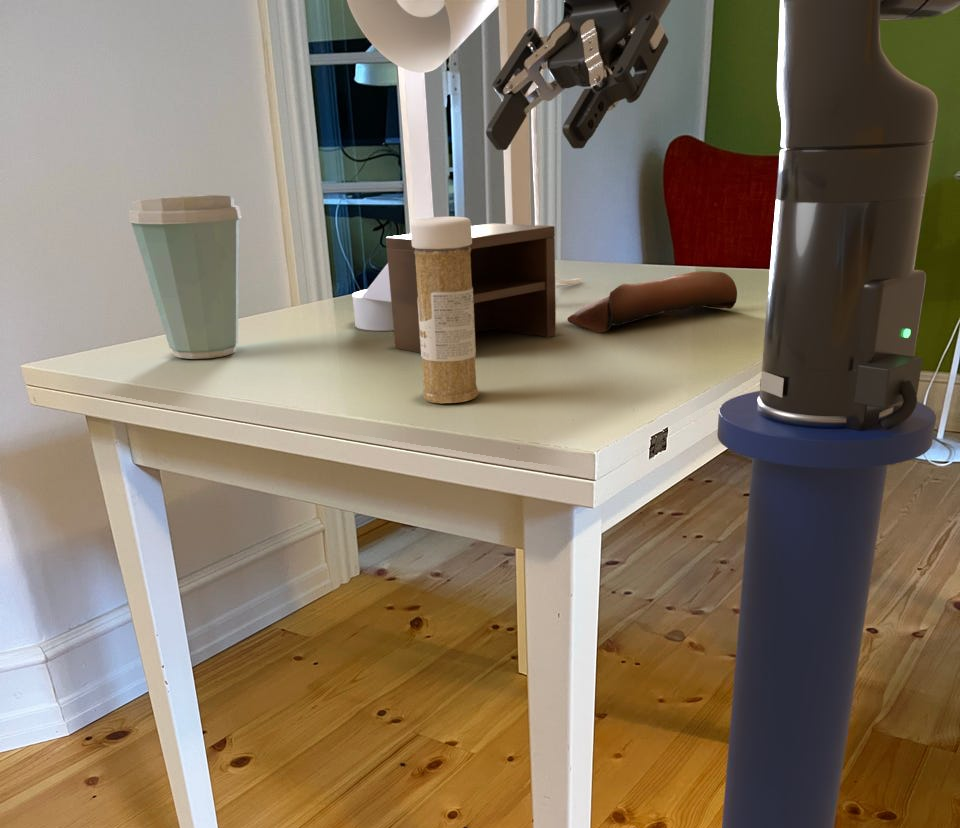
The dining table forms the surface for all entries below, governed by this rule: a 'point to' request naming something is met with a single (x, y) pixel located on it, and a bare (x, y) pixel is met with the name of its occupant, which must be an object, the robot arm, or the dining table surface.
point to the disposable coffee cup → (192, 269)
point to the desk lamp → (423, 48)
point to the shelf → (486, 282)
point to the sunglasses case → (657, 299)
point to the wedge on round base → (374, 305)
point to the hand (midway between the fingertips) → (531, 141)
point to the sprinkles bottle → (445, 307)
